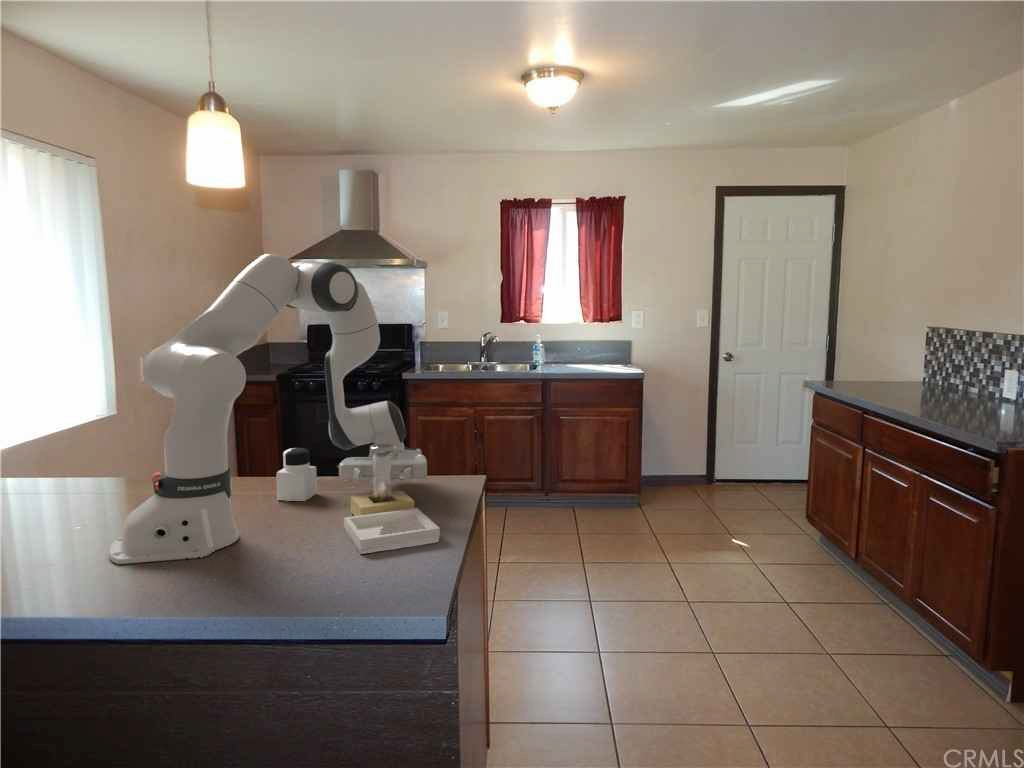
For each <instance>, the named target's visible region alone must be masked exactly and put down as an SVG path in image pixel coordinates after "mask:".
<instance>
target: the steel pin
mask: <svg viewBox="0 0 1024 768" xmlns="http://www.w3.org/2000/svg"><path fill="white" fill-rule="evenodd" d="M393 451H394V446H393V445H391V444H374V443H373V444H371V445H370V446H369V453H370V452H372V453H373V479H372V494H373V503H381V502H389V501H391V491H392V480H391V452H393Z"/></svg>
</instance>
